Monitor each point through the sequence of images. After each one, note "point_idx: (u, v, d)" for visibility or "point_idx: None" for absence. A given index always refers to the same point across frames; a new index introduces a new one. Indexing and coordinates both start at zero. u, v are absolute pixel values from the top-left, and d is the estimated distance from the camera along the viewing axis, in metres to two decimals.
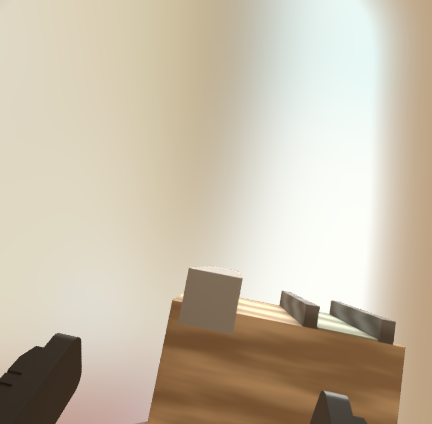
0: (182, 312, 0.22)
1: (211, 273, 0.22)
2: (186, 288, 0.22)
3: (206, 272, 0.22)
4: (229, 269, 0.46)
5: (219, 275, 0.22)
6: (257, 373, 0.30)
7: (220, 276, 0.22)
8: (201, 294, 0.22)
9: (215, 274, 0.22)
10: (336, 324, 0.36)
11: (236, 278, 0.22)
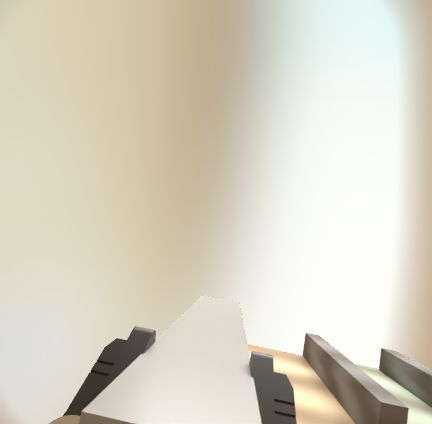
0: None
1: None
2: None
3: None
4: (227, 302, 0.30)
5: None
6: None
7: None
8: None
9: None
10: (418, 416, 0.20)
11: None
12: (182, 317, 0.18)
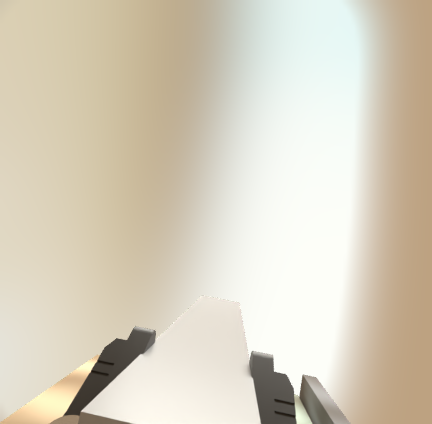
0: None
1: None
2: None
3: None
4: (226, 302, 0.30)
5: None
6: None
7: None
8: None
9: None
10: None
11: None
12: (182, 317, 0.18)
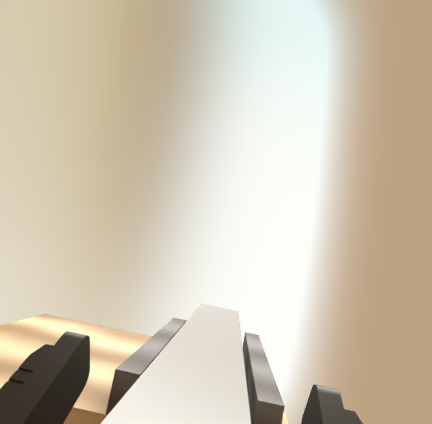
0: None
1: None
2: None
3: None
4: (225, 311, 0.30)
5: None
6: None
7: None
8: None
9: None
10: None
11: None
12: (179, 333, 0.18)
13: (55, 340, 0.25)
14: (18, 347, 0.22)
